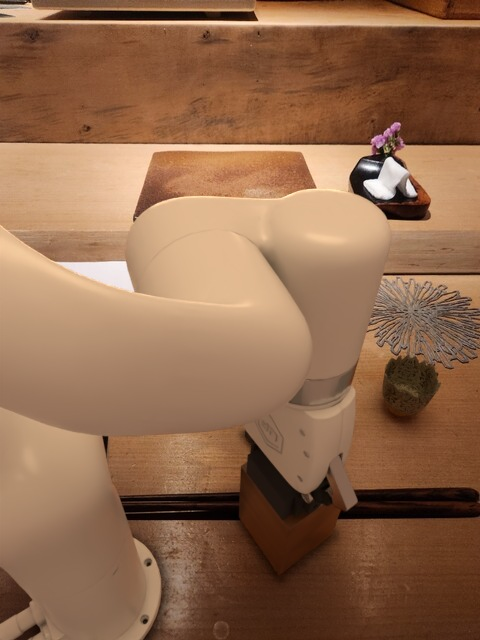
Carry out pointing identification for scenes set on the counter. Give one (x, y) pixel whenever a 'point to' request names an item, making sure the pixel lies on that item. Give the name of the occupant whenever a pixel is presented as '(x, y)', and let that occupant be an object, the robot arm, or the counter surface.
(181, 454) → the counter surface
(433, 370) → the cup
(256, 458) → the small pad
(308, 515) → the block
